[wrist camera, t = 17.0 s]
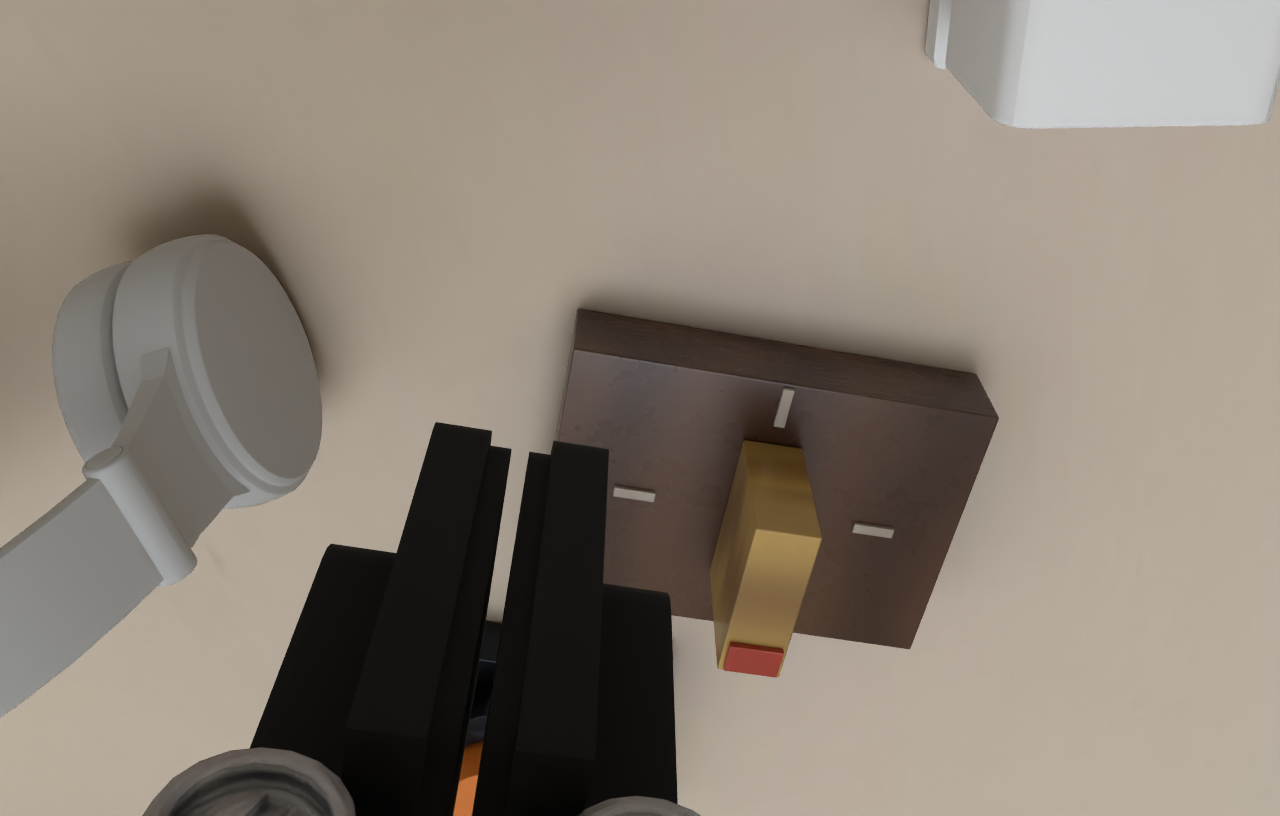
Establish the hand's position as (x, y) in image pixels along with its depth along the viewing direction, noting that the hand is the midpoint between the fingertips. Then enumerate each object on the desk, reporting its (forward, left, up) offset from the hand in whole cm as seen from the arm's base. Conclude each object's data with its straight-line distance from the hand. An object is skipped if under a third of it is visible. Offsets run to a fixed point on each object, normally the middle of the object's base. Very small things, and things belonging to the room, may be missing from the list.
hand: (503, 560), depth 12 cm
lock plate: (+8, -15, -27) cm, 32 cm away
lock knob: (+8, -15, -24) cm, 29 cm away
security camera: (+12, +4, -27) cm, 30 cm away
